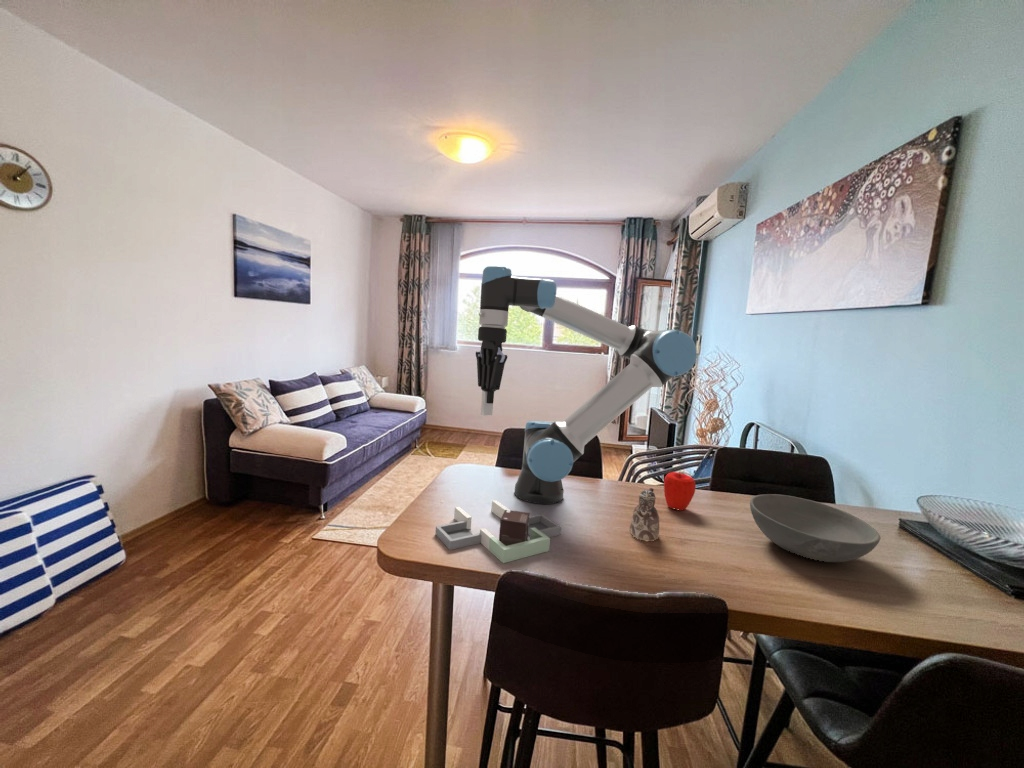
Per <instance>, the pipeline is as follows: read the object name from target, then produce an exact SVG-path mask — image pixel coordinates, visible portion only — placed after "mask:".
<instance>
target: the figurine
mask: <svg viewBox="0 0 1024 768" xmlns="http://www.w3.org/2000/svg"><path fill="white" fill-rule="evenodd" d="M654 490H655V489H654V488H652V487H650V488H649V489H644V490H643V491H641V493H639V495H638V505H637V506H635V508H634V510H633V513H632V518H631V522H630V525H629V534H630V533H631V534H632V535H633V536H632V535H631V534H630V535H631V536H632V538H634V537H636V538H638V539H640V540H639V541H641V540H649V541H653V540H656V539H657V540H658V539H659V535H660V516H659V511H658V509H657V508H656V507H655V504H656V495H655V493H654ZM636 538H635V539H636ZM638 539H637V540H638ZM657 540H656V541H657Z"/></svg>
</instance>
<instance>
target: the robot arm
mask: <svg viewBox="0 0 1024 768" xmlns="http://www.w3.org/2000/svg"><path fill="white" fill-rule="evenodd" d="M479 303H480V307H479V309H480V310H479V313H478V316H479V320H478V321H479V322H478V324H479V325H481V326H479V327H478V329H477V330H478V333H477V340H478V341H480V342H481V345H480V350H479V351H475V357H476V369H477V386H478V387H479V388H481V389H480V390H482V392H481V407H480V415H482V416H492V415H493V409H494V400H495V398H494V397H495V392H496V391H499V390H500V388H501V383H502V379H503V374H504V369H505V365H506V362H507V360H508V354H504V353H503V344H505V343H507V342H506V341H507V336H508V335H507V333H508V331H507V329H506V327H508V323H509V306H512V307H519V308H520V309H521V310H523V311H524V312H527V313H532V314H534V315H536V316H539V317H540V318H544V319H546V320H548V321H552V322H553V323H555V324H557V325H560V326H562V327H564V328H567V329H569V330H572V331H574V332H575V333H578V334H580V335H583V336H585V337H586V338H588V339H591V340H593V341H596V342H598V343H600V344H602V345H605V346H607V347H609V348H612V349H614V350H616V351H617V353H618V355H619V356H621V357H623V358H626V359H627V360H629V364H628V365H626V366H625V367H624V368H623V369H621V371H619V372H618V373H617V374H615V376H614V377H612V378H611V379H610V380H609V381H608V382H607V383H606V384H605V385H603V386H602V387H601V388H600V389H599V390H598V391H596V392H595V393H594V394H593V395H592V396H591V397H590V398H588V399H587V400H586V401H585V402H584V403H583V404H582V405H581V406H579V407H578V408H577V409H576V410H574V411H573V412H572V413H571V414H570V415H569V416H568V417H567V418H565V419H564V420H563V421H559V420H555V421H541V420H540V421H539V420H528V421H526V424H525V427H524V442H523V453H522V465H521V470H520V473H519V476H518V478H517V481H516V482H515V485H514V495H515V496H516V497H517V498H518V499H521V500H522V501H525V502H528V503H533V504H538V505H544V504H545V505H548V504H549V505H550V504H557V503H559V502H561V501H562V500H563V499H564V494H565V491H564V487H563V481H562V480H563V479H564V478H566V477H567V476H568V475H569V474H570V472H571V471H572V469H573V466H574V463H575V462H576V461H577V460H579V458H580V457H581V456H583V455H584V453H585V446H586V445H587V444H589V443H590V441H591V440H593V439H594V438H595V437H596V436H597V435H598V434H600V433H601V432H602V431H603V430H605V428H606V427H608V425H610V424H611V423H612V422H614V421H615V420H616V419H617V418H618V417H619V416H621V414H623V413H624V412H625V411H626V410H627V409H628V408H630V407H631V406H632V405H633V404H634V403H635V402H637V401H638V400H639V399H640V398H642V396H644V395H645V394H646V393H647V392H648V391H650V390H651V389H652V388H661V387H663V386H664V385H665V384H666V383H667V382H669V381H670V380H671V379H672V378H673V377H678V376H681V375H685V374H686V373H688V372H689V371H690V370H691V369H692V368H693V367H694V365H695V363H696V360H697V346H696V343H695V341H694V340H693V338H692V337H691V336H690V335H689V334H687V333H686V332H684V331H681V330H677V329H665V330H651V329H650V330H648V329H645V328H641V327H639V326H636V325H634V324H633V325H630V326H628V325H625V324H623V323H621V322H618V321H617V320H614V319H612V318H609V317H607V316H605V315H603V314H600V313H598V312H597V311H594V310H592V309H589V308H587V307H585V306H583V305H580V304H578V303H576V302H573V301H571V300H569V299H566V298H564V297H562V296H560V295H558V294H557V283H556V281H555V280H553V279H546V278H534V277H533V278H532V277H521V276H520V277H519V276H515V275H514V276H513V273H512V269H511V268H510V267H506V266H502V265H489V266H486V267H484V269H483V270H482V276H481V290H480V302H479Z"/></svg>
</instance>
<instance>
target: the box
mask: <svg viewBox="0 0 1024 768" xmlns="http://www.w3.org/2000/svg"><path fill="white" fill-rule="evenodd" d="M529 517H530V512H526V511H517V510H511V509H509V510H505V511H504V513H503V515H502V518H500V525H499V532H498V533H499V535H498V536H499V537H498V540H499V541H500V542H502V543H503V544H504V545H505V546H508V545H513V544H517V543H521V542H525V541H529V540H528V539H529V538H528V537H529V536H528V527H529Z"/></svg>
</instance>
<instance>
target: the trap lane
mask: <svg viewBox="0 0 1024 768" xmlns="http://www.w3.org/2000/svg"><path fill="white" fill-rule="evenodd" d="M505 510H510V508H508V507H507V506H505V505H503V503H501V502H499V501H498V500H496V499H495V500H492V501H491V510H490V511H491V512H492V513H493V514H494V515H496V516H497V517H498V518H499V519H501V518H502V515H503V513H504V511H505ZM453 514H454V515H453V519H454V520H455V521H456V522H452V523H451V522H450V523H446V524H440V525H436V526H435V533H434V534H435V535H436V537H437V538H438V539H439V540H440V541H441V542H442V543H443V544H444V545H445V547H446V548H447V549H448V550H449V551H452V550H457V549H462V548H465V547H469V546H473V545H478V544H481V545H482V546H484V547H485V548H486V549H487V550H488V551H489V552H490V553H491V554H492V555H493V556H494V557H496V558H497V559H498V560H499V561H500V562H501V563H502V564H506V563H509V562H513V561H517V560H521V559H524V558H525V559H526V558H528V557H531V556H536V555H538V554H543V553H546V552H549V551H550V544H551V538H552V537H553V538H554V537H556V536H560V535H561V534H562V526H561V525H559V524H558V523H556V522H554V521H553V519H550V517H549V518H548V517H547V516H545V515H544V514H542V513H541V514H535V515H531V516H530V515H529V527H528V537H529V540H527V541H525V542H521V543H517V544H513V545H508V546H505V545H504V544H503V543H502V542H500V541H499V538H497V537H496V536H495V535H493V534H492V533H491V532H490V531H489V530H487V529H486V528H485V527H484V528H479V533H478V532H477V533H474V534H473V533H472V532H471V531H470V530H471V529H472V516H471V515H470V514H469V513H468V512H466V511H465V510H464V509H463V508H462V507H460V506H454V513H453Z"/></svg>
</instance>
